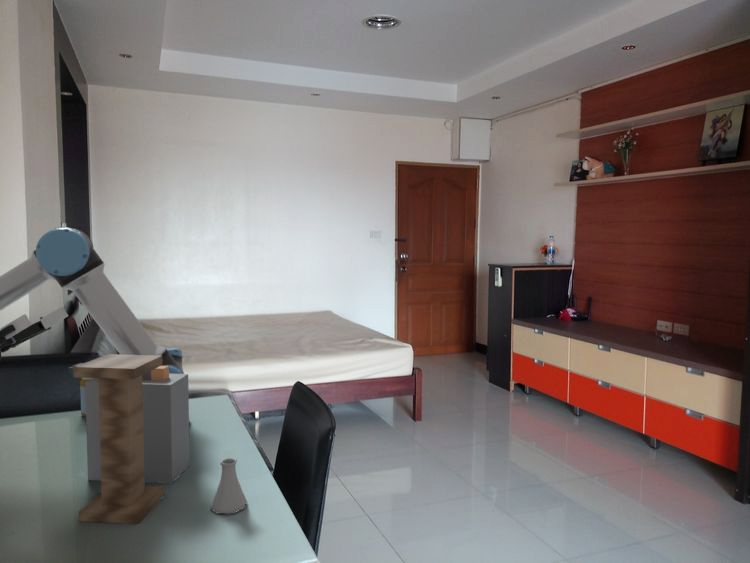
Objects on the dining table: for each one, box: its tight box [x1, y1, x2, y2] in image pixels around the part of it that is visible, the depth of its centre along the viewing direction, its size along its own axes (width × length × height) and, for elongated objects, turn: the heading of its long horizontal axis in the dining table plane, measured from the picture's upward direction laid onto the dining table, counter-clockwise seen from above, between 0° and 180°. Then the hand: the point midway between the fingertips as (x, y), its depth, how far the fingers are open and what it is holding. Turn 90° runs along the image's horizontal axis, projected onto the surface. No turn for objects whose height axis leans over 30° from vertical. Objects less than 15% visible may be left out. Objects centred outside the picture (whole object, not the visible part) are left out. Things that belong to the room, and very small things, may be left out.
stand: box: [74, 353, 166, 525], centre depth 114 cm, size 12×12×31 cm
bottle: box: [79, 378, 94, 418], centre depth 175 cm, size 7×7×15 cm
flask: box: [210, 457, 248, 514], centre depth 116 cm, size 7×7×10 cm
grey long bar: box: [67, 362, 169, 381], centre depth 131 cm, size 24×3×3 cm, turn 86°
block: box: [85, 373, 190, 484], centre depth 132 cm, size 20×10×23 cm, turn 86°
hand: (47, 315), depth 131 cm, fingers open, 13 cm apart
